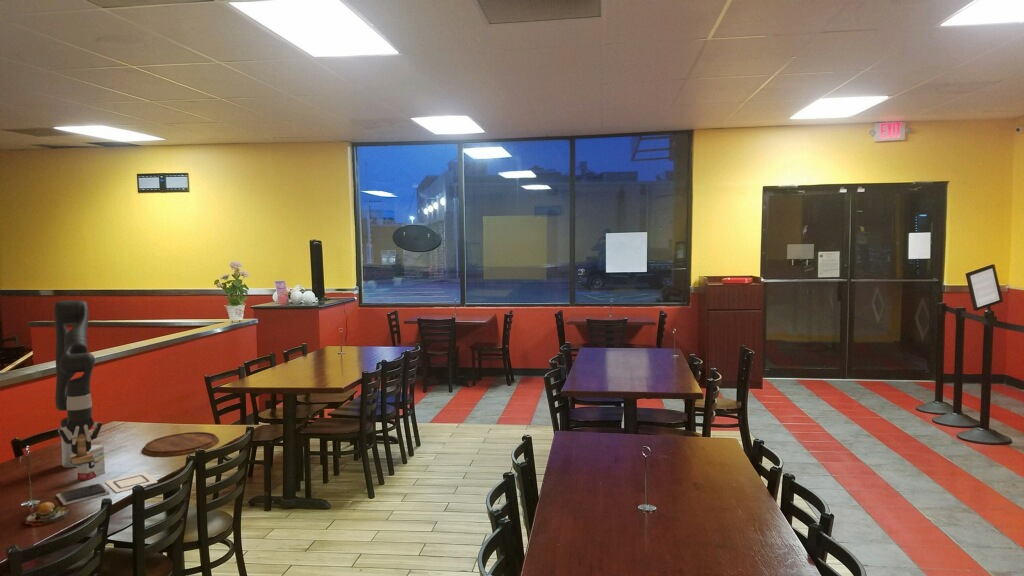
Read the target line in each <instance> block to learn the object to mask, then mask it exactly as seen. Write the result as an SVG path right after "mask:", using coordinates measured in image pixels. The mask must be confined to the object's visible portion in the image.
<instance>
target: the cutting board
mask: <svg viewBox="0 0 1024 576" xmlns="http://www.w3.org/2000/svg"><path fill="white" fill-rule="evenodd" d="M219 443H220V438H219V437H218V436H217V435H216V434H215V433H211V432H205V431H189V432H181V433H174V434H169V435H165V436H162V437H161V436H160V437H158V438H155V439H152V440H150V441H148V442H147V443H145V445H144V446H143V448H142V449H141V453H142V454H143V455H145V456H148V457H156V458H167V457H168V458H170V457H180V456H185V455H186V456H187V455H191V454H195V453H194V452H195V450H196V449H199V448H202V449H205V450H204V451H206V450H209V449H211V448H214V447H215V446H217V445H218V444H219Z"/></svg>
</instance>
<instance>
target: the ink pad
mask: <svg viewBox="0 0 1024 576" xmlns="http://www.w3.org/2000/svg"><path fill="white" fill-rule="evenodd" d="M107 495H110V491H109V490H108V489H107V488H106V487H105V486H104V485H103V484H102V483H95V484H92V485H91V484H90V485H87V486H81V487H79V488H75V489H70V490H66V491H60V492H59V493H56V497H57V499H58V501H60V502H61V504H62V505H63V506H66V505H70V504H74V503H79V502H82V501H88V500H90V499H94V498H99V497H102V496H107Z"/></svg>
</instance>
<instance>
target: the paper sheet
mask: <svg viewBox="0 0 1024 576" xmlns="http://www.w3.org/2000/svg"><path fill="white" fill-rule="evenodd" d="M158 482H159V481H157V480H156V479H154V478H153V477H152V476H151V475H149V474H148V473H147V472H145V471H144V472H140V473H136V474H131V475H127V476H124V477H119V478H115V479H111V480H105V481H104V483H105V484H106V485H107V486H108V487H110V489H111V490H113V491H114V492H115V494H118V493H122V492H125V491H124V490H126V491H130V490H133V489H132V487H133V486H134V485H142V487H145V486H149V485H154V484H158ZM146 483H148V484H146ZM121 491H122V492H121ZM117 492H118V493H117Z"/></svg>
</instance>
